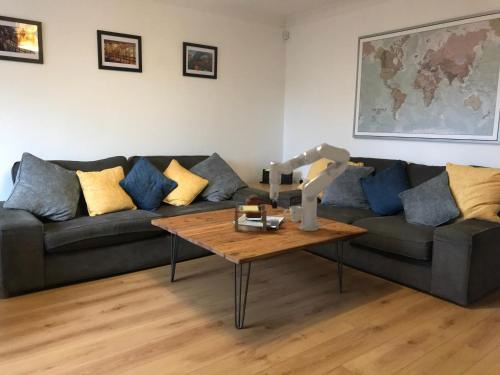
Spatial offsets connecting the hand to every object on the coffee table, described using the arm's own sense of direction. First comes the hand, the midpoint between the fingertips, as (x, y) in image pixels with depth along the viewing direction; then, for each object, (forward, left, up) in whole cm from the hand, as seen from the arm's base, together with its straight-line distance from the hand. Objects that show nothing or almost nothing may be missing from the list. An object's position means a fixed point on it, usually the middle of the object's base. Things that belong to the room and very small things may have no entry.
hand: (273, 206), depth 273 cm
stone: (-1, 0, -14) cm, 14 cm away
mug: (-15, -18, -14) cm, 27 cm away
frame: (+15, 0, -14) cm, 21 cm away
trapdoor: (+16, 0, -2) cm, 17 cm away
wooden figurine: (+13, -21, -14) cm, 28 cm away
